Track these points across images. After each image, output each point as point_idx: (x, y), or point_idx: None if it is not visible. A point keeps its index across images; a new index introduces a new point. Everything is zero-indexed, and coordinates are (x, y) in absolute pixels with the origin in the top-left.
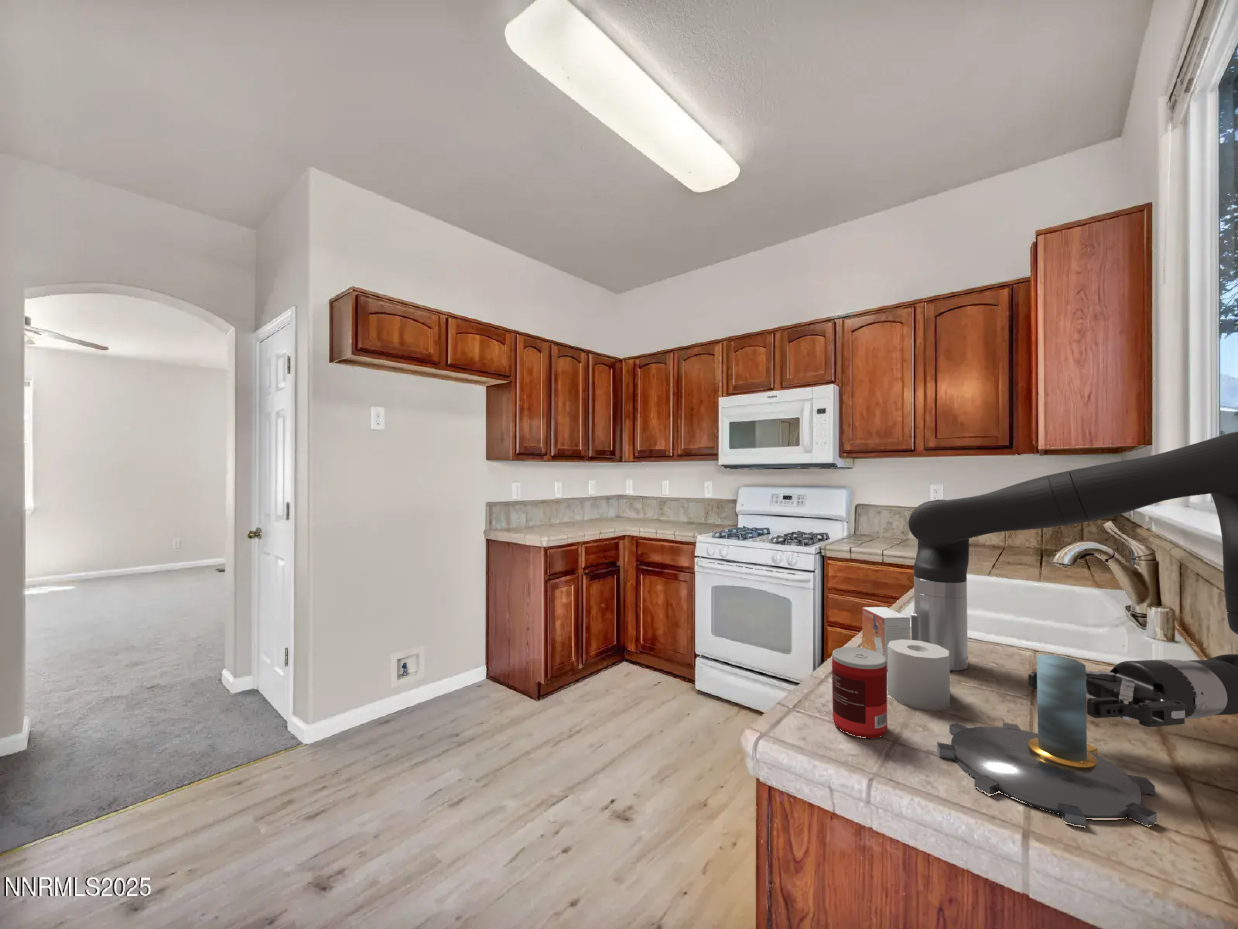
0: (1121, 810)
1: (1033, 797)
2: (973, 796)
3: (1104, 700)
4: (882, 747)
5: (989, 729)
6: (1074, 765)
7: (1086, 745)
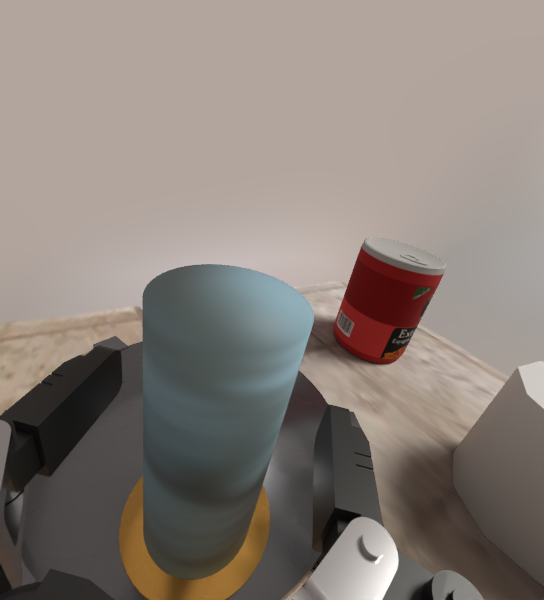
0: None
1: None
2: None
3: (69, 370)
4: (315, 330)
5: None
6: None
7: (143, 512)
